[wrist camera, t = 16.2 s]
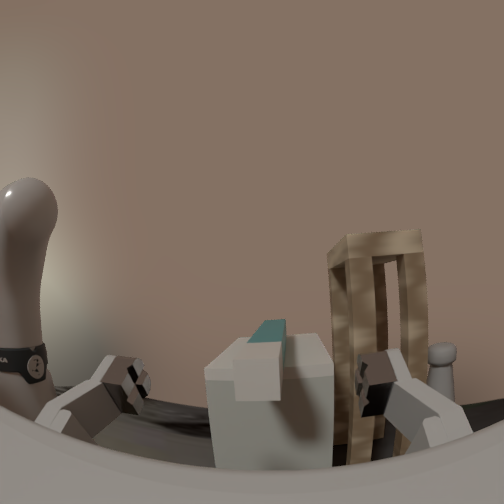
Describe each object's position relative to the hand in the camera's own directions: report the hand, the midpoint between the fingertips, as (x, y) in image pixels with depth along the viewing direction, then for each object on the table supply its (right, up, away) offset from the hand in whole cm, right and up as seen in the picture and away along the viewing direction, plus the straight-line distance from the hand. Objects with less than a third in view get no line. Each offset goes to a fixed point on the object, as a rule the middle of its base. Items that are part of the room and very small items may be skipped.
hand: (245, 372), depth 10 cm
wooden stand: (+14, -21, +17) cm, 30 cm away
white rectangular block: (+3, -21, +17) cm, 27 cm away
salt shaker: (+25, -20, +18) cm, 37 cm away
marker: (+2, -5, +14) cm, 15 cm away
